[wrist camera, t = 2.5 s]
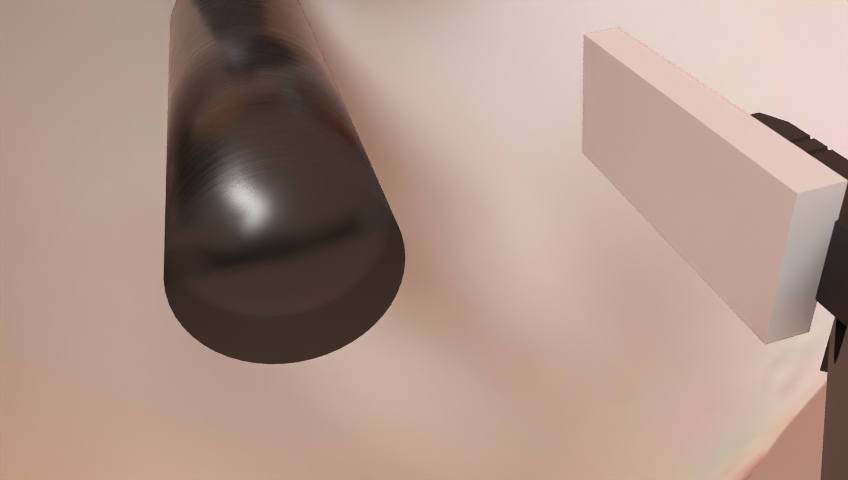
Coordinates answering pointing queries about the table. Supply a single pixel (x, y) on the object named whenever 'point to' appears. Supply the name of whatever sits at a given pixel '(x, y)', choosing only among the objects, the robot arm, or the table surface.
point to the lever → (268, 190)
